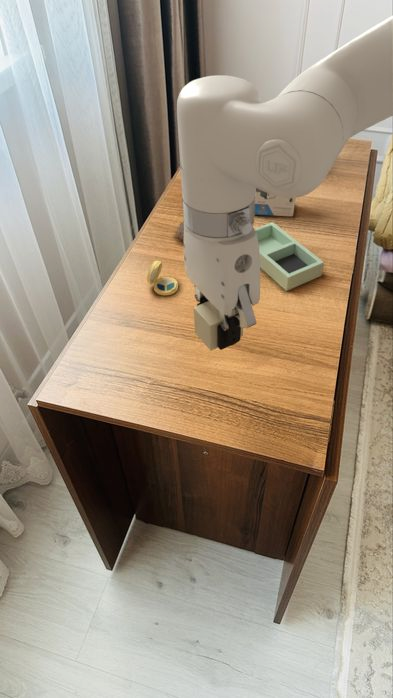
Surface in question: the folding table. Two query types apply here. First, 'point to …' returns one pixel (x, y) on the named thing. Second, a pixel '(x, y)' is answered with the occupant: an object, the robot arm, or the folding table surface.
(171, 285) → the eyeshadow
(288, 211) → the ink box
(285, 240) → the pad tray
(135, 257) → the folding table surface
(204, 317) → the beige block
